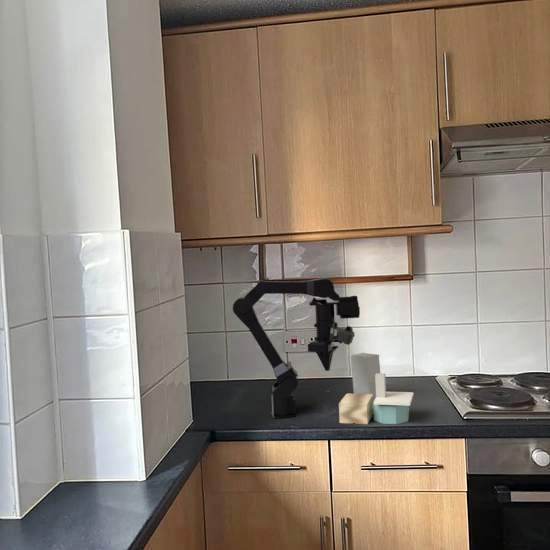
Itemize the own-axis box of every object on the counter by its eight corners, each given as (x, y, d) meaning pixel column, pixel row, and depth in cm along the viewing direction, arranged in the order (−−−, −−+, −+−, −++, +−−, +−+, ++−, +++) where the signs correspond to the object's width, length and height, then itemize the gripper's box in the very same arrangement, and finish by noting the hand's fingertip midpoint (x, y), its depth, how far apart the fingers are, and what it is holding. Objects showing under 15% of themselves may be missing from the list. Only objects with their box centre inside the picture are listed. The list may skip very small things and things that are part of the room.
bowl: (372, 423, 168) (371, 405, 168) (377, 413, 177) (376, 397, 177) (406, 424, 165) (406, 406, 165) (409, 415, 174) (409, 398, 174)
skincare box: (383, 399, 193) (381, 354, 193) (369, 403, 190) (367, 357, 189) (365, 395, 200) (363, 351, 200) (352, 398, 197) (350, 354, 196)
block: (339, 422, 170) (338, 403, 169) (347, 411, 181) (346, 393, 181) (367, 424, 167) (366, 404, 167) (373, 412, 179) (373, 394, 178)
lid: (373, 404, 166) (372, 378, 166) (379, 394, 178) (378, 369, 177) (410, 405, 163) (409, 379, 163) (413, 395, 175) (412, 370, 174)
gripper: (343, 323, 168) (346, 378, 169) (358, 315, 185) (360, 365, 186) (306, 323, 172) (308, 376, 172) (323, 316, 189) (326, 364, 190)
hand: (327, 370), depth 180 cm, fingers closed
